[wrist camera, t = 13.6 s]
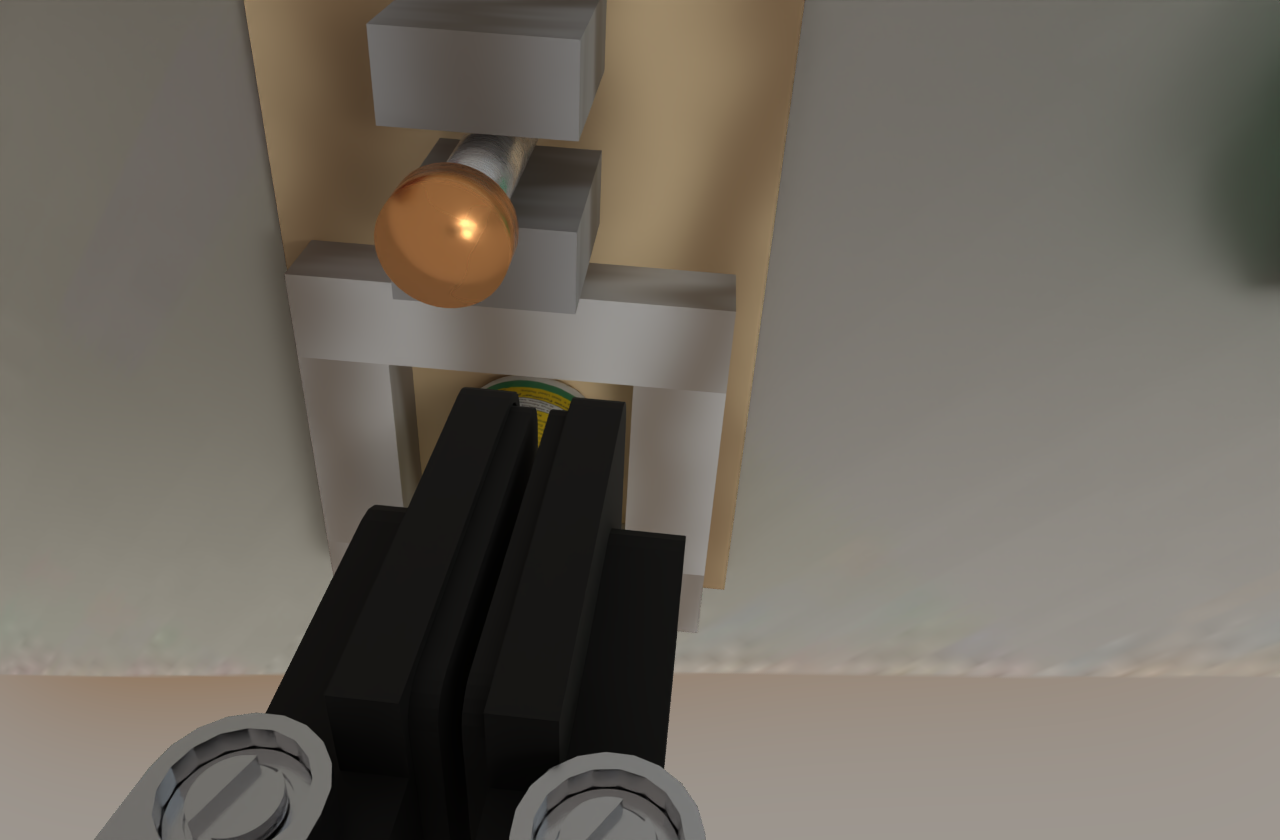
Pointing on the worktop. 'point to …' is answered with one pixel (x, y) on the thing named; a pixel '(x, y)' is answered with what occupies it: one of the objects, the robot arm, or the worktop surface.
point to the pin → (455, 222)
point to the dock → (654, 163)
